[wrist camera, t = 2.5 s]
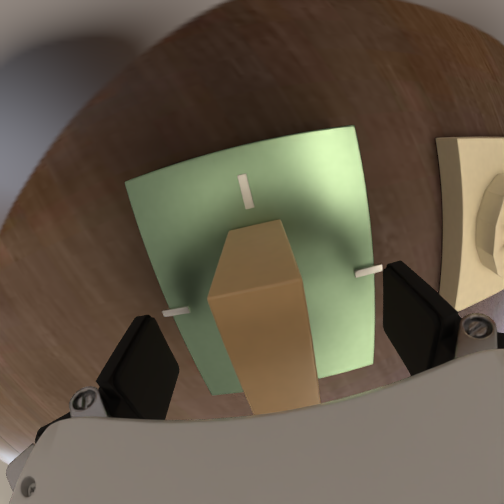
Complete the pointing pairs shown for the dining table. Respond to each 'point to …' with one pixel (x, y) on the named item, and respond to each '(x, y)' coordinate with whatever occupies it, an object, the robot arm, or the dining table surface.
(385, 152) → the dining table surface
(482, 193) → the button block
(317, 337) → the panel
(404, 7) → the dining table surface
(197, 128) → the dining table surface
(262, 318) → the wooden block
